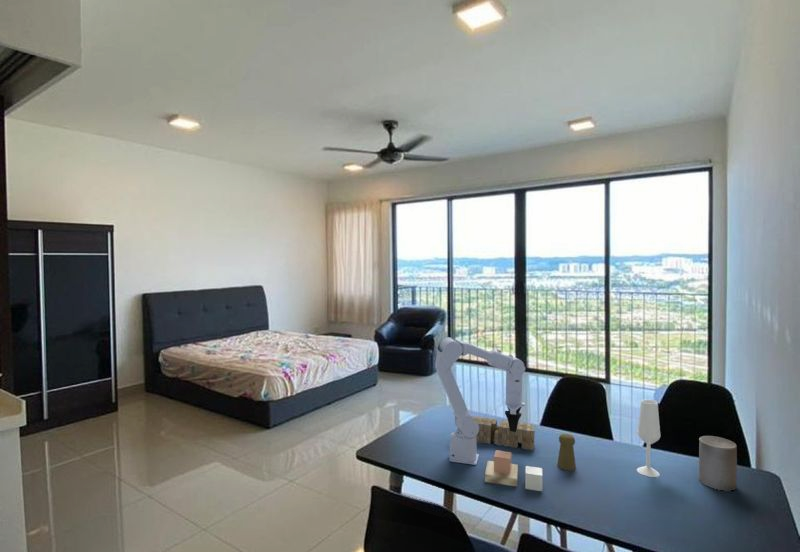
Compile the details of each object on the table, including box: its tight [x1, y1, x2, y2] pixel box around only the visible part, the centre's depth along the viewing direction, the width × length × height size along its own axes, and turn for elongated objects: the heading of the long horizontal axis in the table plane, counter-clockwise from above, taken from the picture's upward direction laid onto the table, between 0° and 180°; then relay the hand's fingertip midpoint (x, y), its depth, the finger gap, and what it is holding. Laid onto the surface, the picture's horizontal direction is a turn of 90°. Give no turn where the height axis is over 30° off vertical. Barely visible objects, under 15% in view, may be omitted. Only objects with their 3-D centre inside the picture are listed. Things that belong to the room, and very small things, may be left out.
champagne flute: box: [636, 398, 661, 478], centre depth 142 cm, size 7×7×24 cm
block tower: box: [471, 415, 536, 451], centre depth 167 cm, size 8×8×29 cm
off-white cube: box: [524, 465, 543, 492], centre depth 133 cm, size 5×5×5 cm
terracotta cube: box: [493, 449, 512, 474], centre depth 139 cm, size 5×5×5 cm
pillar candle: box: [698, 435, 738, 492], centre depth 135 cm, size 10×10×15 cm
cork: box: [557, 433, 577, 472], centre depth 146 cm, size 6×6×11 cm
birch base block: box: [484, 460, 519, 487], centre depth 139 cm, size 10×10×3 cm
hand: (513, 427), depth 154 cm, fingers open, 7 cm apart
